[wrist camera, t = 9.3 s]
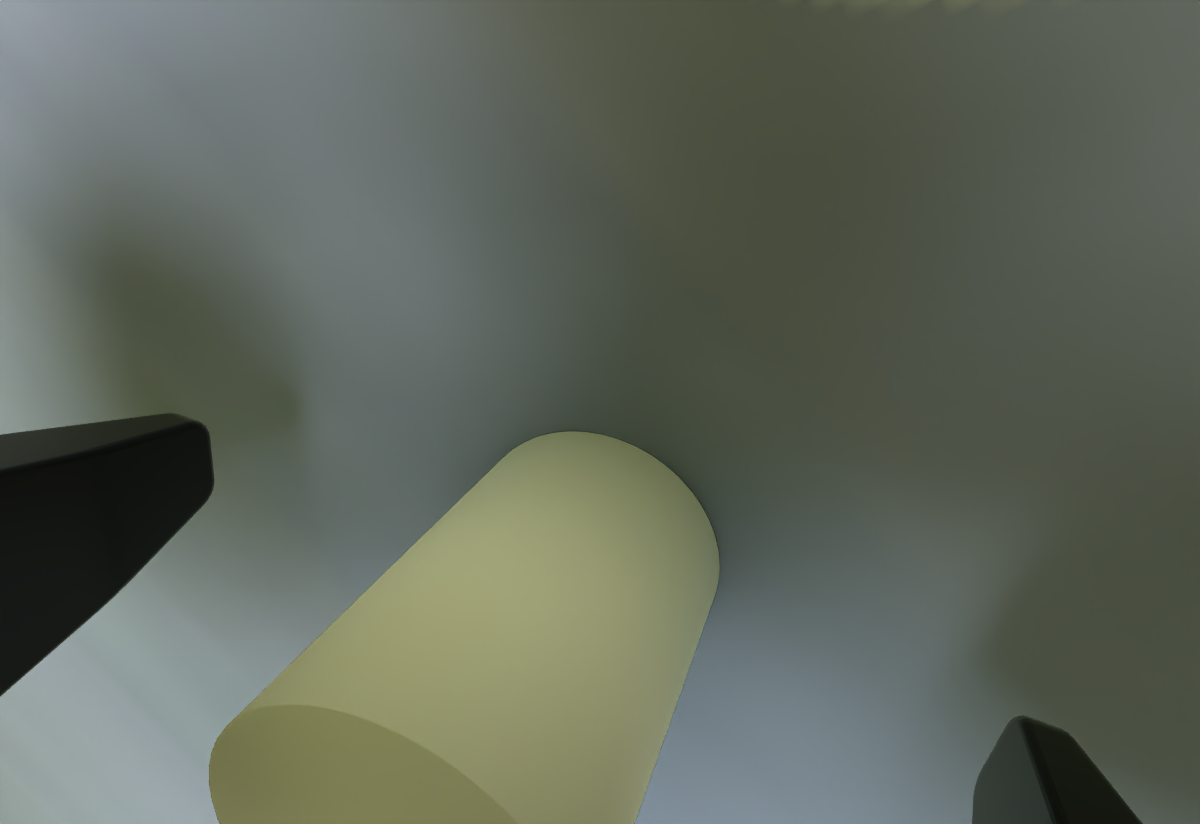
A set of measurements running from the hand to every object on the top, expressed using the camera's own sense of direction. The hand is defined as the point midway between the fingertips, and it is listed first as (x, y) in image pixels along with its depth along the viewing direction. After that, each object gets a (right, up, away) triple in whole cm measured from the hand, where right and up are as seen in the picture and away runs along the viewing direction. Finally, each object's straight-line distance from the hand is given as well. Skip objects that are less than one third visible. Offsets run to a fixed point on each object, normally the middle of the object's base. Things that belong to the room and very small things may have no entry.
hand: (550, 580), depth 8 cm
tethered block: (0, -7, +5) cm, 9 cm away
